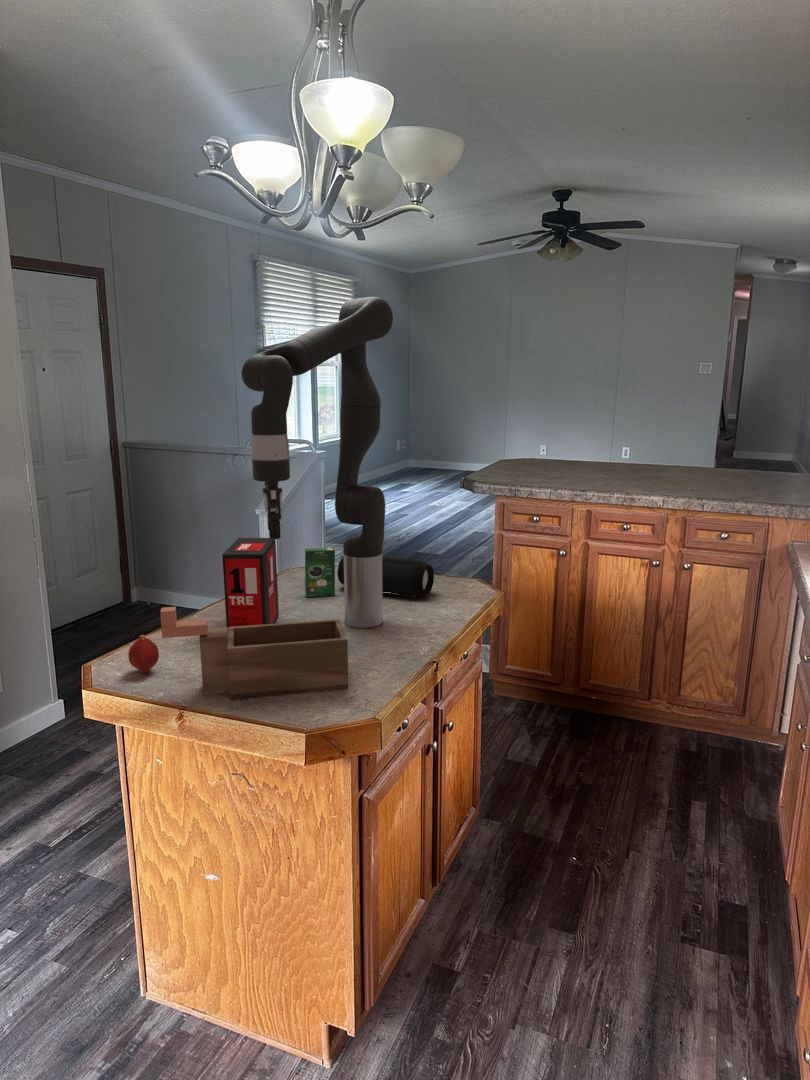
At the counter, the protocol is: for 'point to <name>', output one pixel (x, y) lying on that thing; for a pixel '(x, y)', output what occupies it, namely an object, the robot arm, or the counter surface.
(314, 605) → the counter surface
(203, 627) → the l-shaped block
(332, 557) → the coffee box
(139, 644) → the onion
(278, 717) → the counter surface
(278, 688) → the brown open box piece
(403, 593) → the portable speaker
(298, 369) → the robot arm
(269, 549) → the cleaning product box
